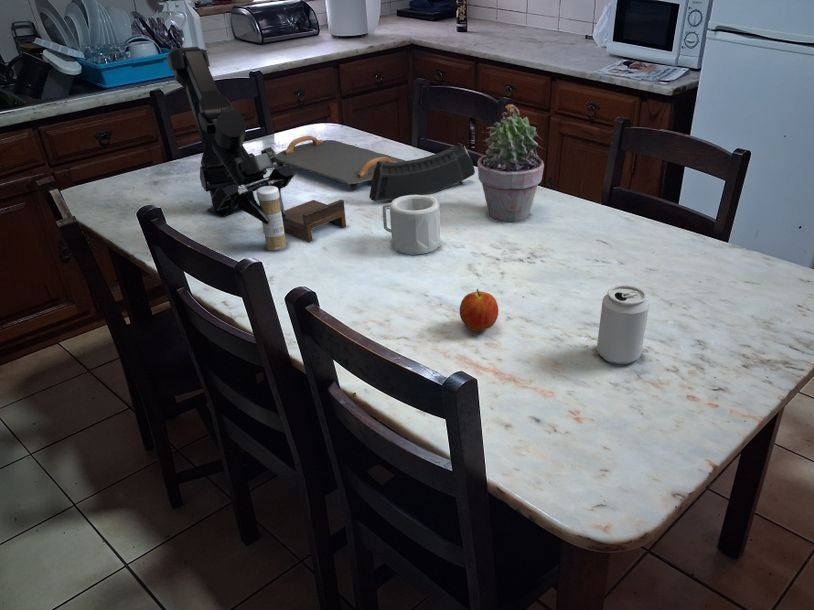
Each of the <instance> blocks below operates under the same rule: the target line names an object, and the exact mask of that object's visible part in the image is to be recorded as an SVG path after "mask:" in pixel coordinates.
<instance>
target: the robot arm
mask: <svg viewBox="0 0 814 610" xmlns="http://www.w3.org/2000/svg"><path fill="white" fill-rule="evenodd" d="M207 51H208V50H207V49H204V48H200V47H199V46H188V47H178V48H170V52H169V53H167V54H166V61H167V65H168V68H169V70H170V72H173V73H172V74H173V76H174V79H175V81H176V82H177V83H178V84H179V85H180V86H182V87H183V88H184V90H185V91H186V95H187V97H188V102H189V105H190V108H191V112H192V114H193V118H194V122H195V125H196V128H197V131H198V135H199V138H200V141H201V145H202V149H203V153H202V156H201V160H200V166H199V179H200V185H201V187H202V188H203V190H204V191H205V192H206V193H208V192H209V194H210V199H211V204H212V206H211V207H209V208H207V211H208V212H210V213H212V214H215V215H218V216H220V217H221V218H222V217H227V216H229V215H233V214H235V213H238V212H241V211H243V212H245V213H247V214H249V215H250V216H252V217H253V218H255V219H257V220H258V221H260V222H261V223H262V222H263V223H265V224H268V223H269V220H268V218H267V216H266V215H265V213H264V212H263V210H262V209H261V207H260V205H259V202H258V201H257V200H256V198H255V193H254V192H257V189H258V188H260V187H264V186H275V187H277V188H278V190H279V202H280V208H281V213H282V218H284V217H285V216H286V214H285V210H286V209H285V207H284V203H283V199H282V197H283V196H282V189H284V188H286V187H287V186H288V185H289V184H290V182H291V181H292V180H293V178H294V177H295V175H296V172H295V170H294V169H293V168H292V166H291V165H288V164H283V166H277V167H275V165H274V163H276V162H277V160H278V158H277V156H276V154H277V153H276V151H274V149H273V148H272V147H271V146H270V147H267V148H264V149H261V150H260V154H257V155H255V154H253V152H251V153H249V152H248V151H247V149H246V148H245V146H244V143H245V136H246V130H247V122H246V119H245V117H243V116H242V115H241V114H240V113H239V112H238V111H237V110H236V108H234V107H233V105H232V104H231V102H230V100H229V98H227V97H226V96H224V95H223V94H221V93H220V91H219V89H218V87H217V85H216V82H215V79H214V77H213V75H212V72H211V70H210V67H211V64H210V60H209V56H208V52H207ZM271 168H273V169H272V171H271V172H270V174H269V175H268V176H266V177H264V176H265V175H267V173H268V170H267V169H271Z"/></svg>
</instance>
